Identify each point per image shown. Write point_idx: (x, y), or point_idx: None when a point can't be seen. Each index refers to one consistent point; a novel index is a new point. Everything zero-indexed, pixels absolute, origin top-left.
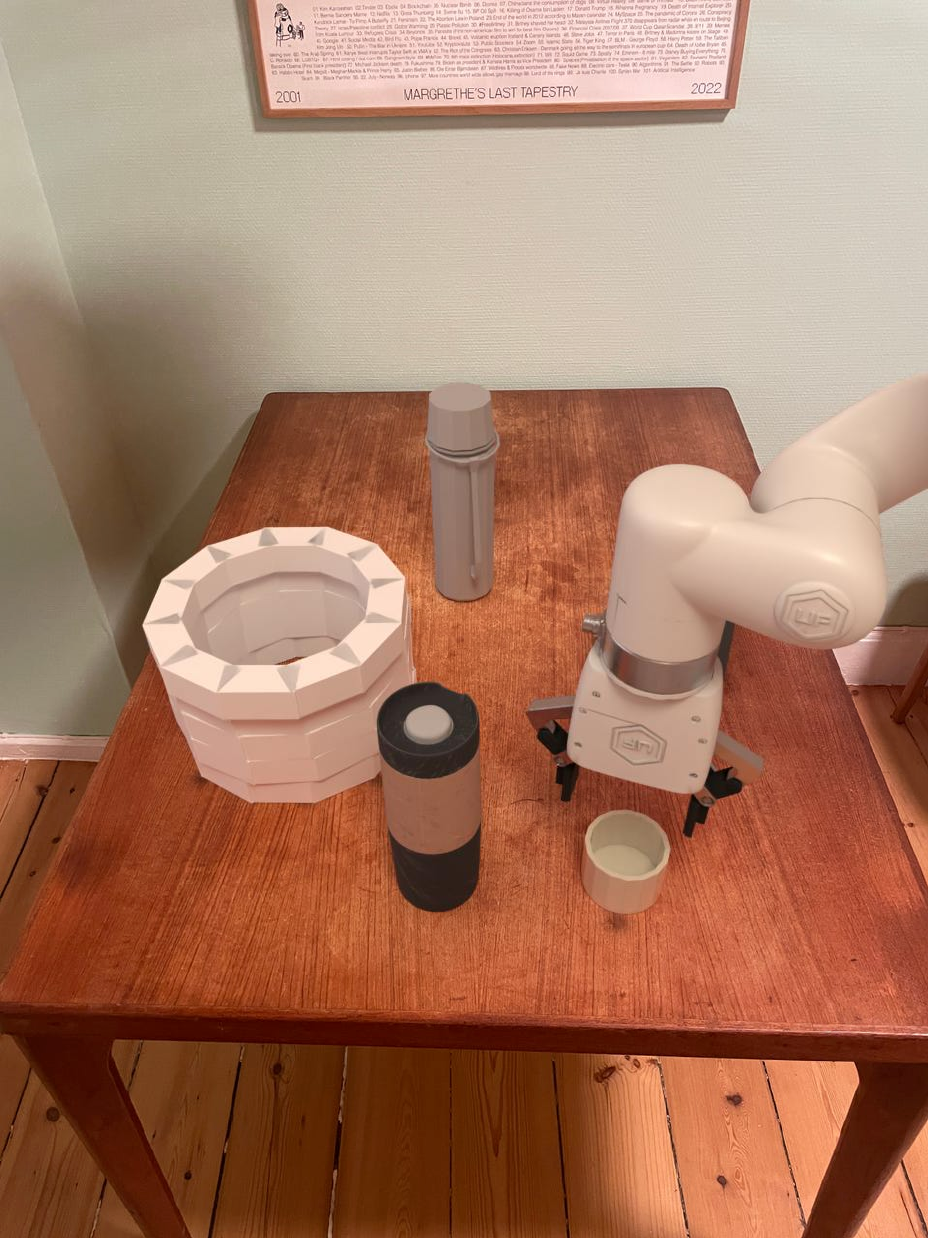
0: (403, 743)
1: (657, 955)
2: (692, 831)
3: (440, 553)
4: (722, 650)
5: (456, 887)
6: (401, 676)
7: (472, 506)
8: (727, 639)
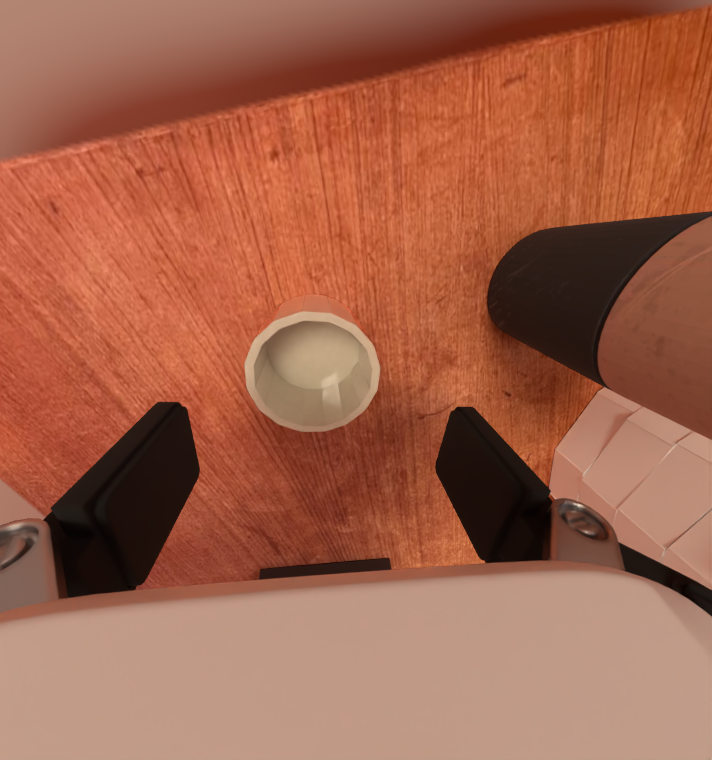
0: None
1: (241, 241)
2: (144, 416)
3: None
4: None
5: (552, 243)
6: (664, 526)
7: None
8: None
